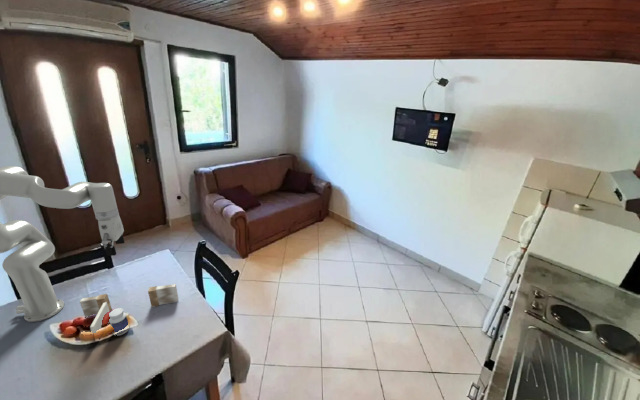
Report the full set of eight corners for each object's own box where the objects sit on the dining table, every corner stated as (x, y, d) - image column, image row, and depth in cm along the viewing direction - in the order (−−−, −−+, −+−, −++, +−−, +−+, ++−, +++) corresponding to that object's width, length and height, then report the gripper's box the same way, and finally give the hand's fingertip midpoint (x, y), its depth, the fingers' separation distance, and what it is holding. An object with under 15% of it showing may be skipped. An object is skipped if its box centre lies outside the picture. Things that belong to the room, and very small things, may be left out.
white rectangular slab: (104, 317, 116) (100, 303, 113) (111, 316, 117) (106, 302, 114) (91, 342, 105) (86, 327, 102) (99, 341, 105) (93, 326, 102)
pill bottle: (133, 326, 113) (128, 308, 109) (120, 337, 107) (114, 319, 104) (122, 323, 114) (117, 305, 110) (109, 334, 109) (103, 315, 105)
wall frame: (84, 318, 115) (79, 302, 112) (87, 313, 118) (82, 297, 115) (177, 302, 127) (174, 287, 124) (178, 298, 129) (175, 283, 126)
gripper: (109, 221, 101) (119, 259, 107) (125, 204, 116) (132, 238, 122) (85, 223, 99) (96, 261, 105) (104, 205, 114) (113, 240, 120)
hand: (116, 249), depth 114 cm, fingers open, 9 cm apart
